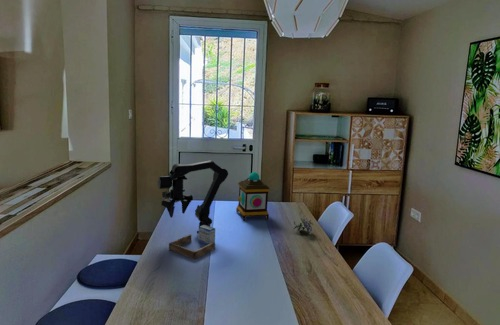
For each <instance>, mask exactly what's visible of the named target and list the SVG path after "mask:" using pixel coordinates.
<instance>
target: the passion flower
mask: <svg viewBox="0 0 500 325" xmlns="http://www.w3.org/2000/svg"><path fill="white" fill-rule="evenodd" d="M300 220H301V222H300V223H298V225H297V224H296V221H293V225H295V226H294V227H293V230H295V229H296V233H295V234H297V233H298V232H299V231H300V229H302V231H304V230H305V229H306V232H307V235H309V236H310V235H312V233H311V232H312V231H313V228H312V227H313V226H314V223H313V222H312V220H311V219H309V220H307V219H306V218H303V217H300Z"/></svg>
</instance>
